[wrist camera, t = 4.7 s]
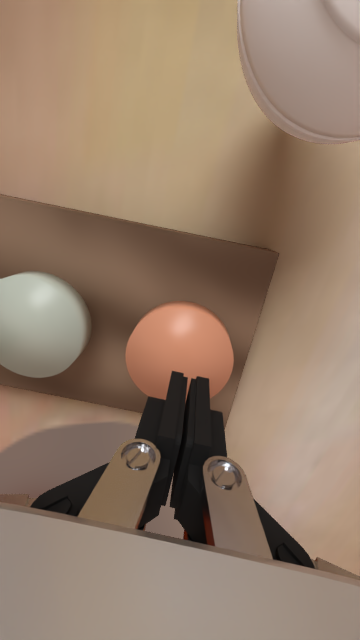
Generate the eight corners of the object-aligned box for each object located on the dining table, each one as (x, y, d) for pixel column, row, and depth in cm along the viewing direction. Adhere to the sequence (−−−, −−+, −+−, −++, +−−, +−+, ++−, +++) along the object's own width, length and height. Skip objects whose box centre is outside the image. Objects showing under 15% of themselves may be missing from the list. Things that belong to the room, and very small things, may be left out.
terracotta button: (158, 402, 18) (155, 418, 17) (114, 324, 17) (105, 335, 15) (245, 371, 17) (249, 385, 16) (206, 284, 16) (207, 290, 14)
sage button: (31, 377, 18) (16, 391, 17) (-26, 296, 17) (-49, 303, 15) (109, 344, 17) (101, 355, 16) (56, 253, 15) (40, 257, 14)
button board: (222, 412, 23) (224, 429, 21) (-96, 347, 22) (-123, 359, 20) (270, 249, 18) (279, 253, 16) (-126, 168, 18) (-165, 162, 16)
